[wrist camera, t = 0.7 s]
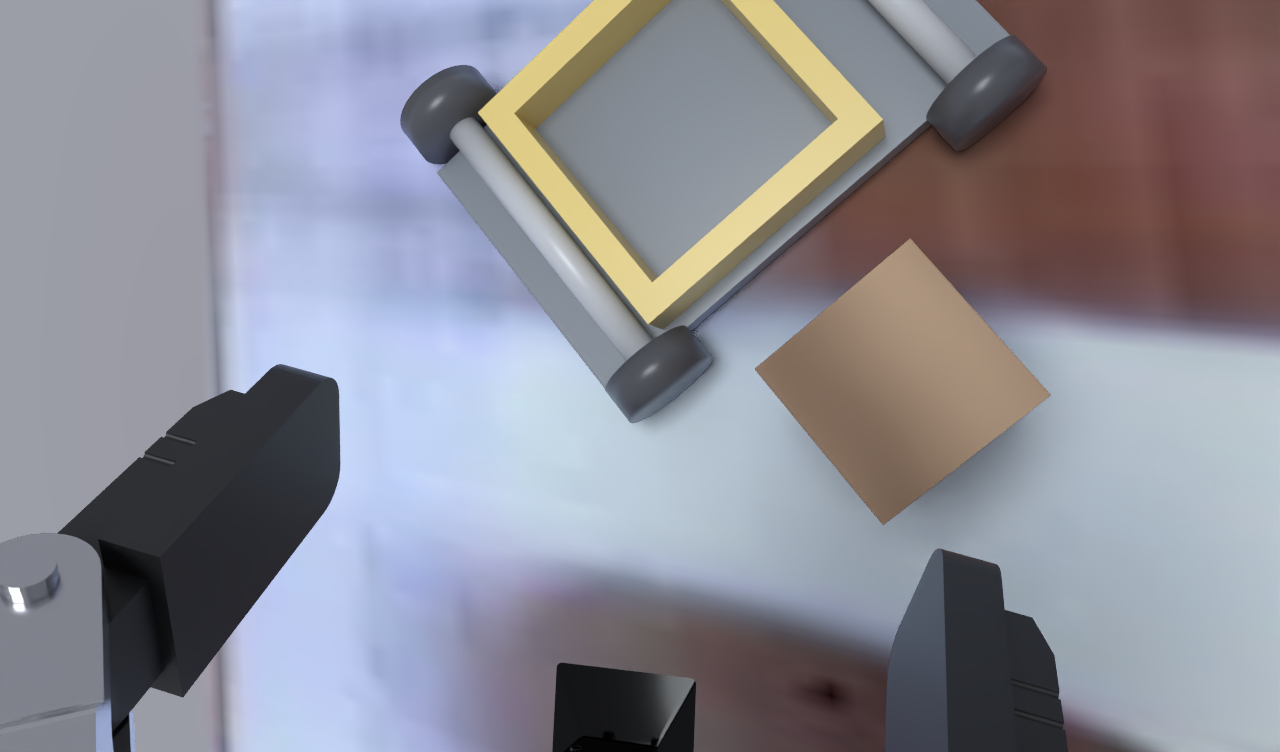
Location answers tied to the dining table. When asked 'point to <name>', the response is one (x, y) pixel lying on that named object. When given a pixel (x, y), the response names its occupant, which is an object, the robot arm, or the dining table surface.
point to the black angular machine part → (622, 711)
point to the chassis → (698, 152)
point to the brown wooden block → (900, 382)
